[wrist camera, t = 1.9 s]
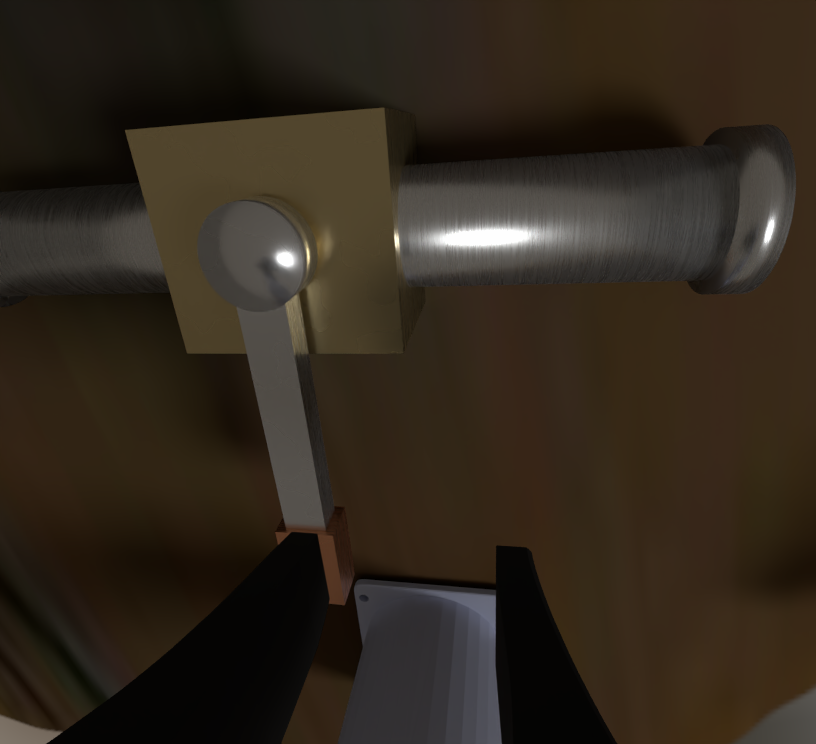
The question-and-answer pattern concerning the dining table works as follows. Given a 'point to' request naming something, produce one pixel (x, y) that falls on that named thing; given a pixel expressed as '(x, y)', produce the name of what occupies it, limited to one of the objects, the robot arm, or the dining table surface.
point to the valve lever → (280, 361)
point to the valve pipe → (402, 221)
